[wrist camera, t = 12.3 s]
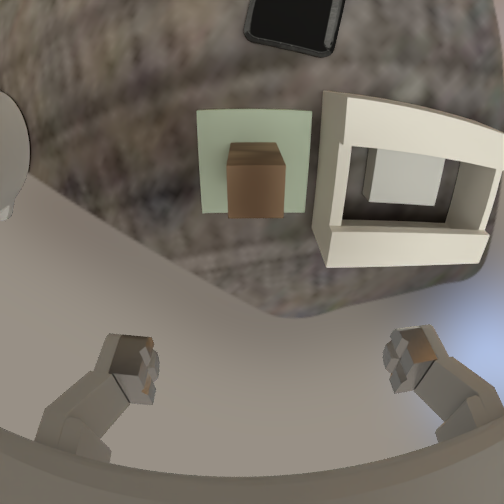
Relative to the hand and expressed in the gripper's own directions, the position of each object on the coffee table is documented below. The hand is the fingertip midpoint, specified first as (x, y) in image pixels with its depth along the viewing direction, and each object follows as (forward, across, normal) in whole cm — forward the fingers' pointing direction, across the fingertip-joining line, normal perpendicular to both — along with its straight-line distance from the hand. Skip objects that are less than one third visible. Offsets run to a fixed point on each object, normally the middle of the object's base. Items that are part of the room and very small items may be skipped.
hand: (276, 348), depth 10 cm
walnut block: (+21, 0, 0) cm, 21 cm away
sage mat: (+21, 0, 0) cm, 21 cm away
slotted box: (+21, -15, 0) cm, 26 cm away
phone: (+22, -4, -18) cm, 28 cm away
